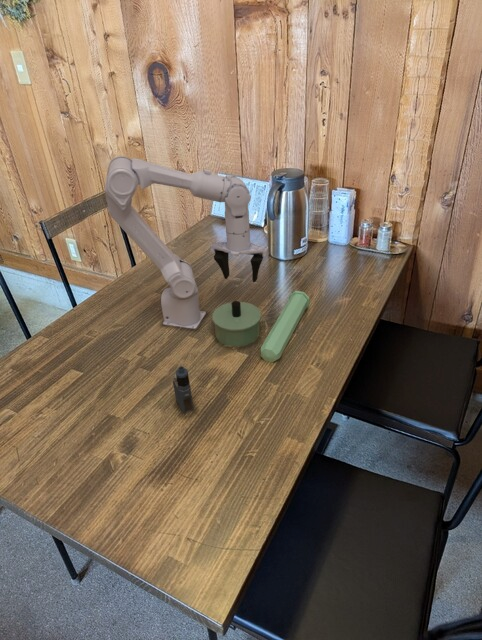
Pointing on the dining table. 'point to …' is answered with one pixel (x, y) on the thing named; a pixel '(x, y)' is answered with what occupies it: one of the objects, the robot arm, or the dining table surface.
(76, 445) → the dining table surface
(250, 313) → the lid
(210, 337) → the dining table surface
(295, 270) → the dining table surface
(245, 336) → the pan
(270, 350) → the green octagonal rod
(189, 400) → the vaping device
